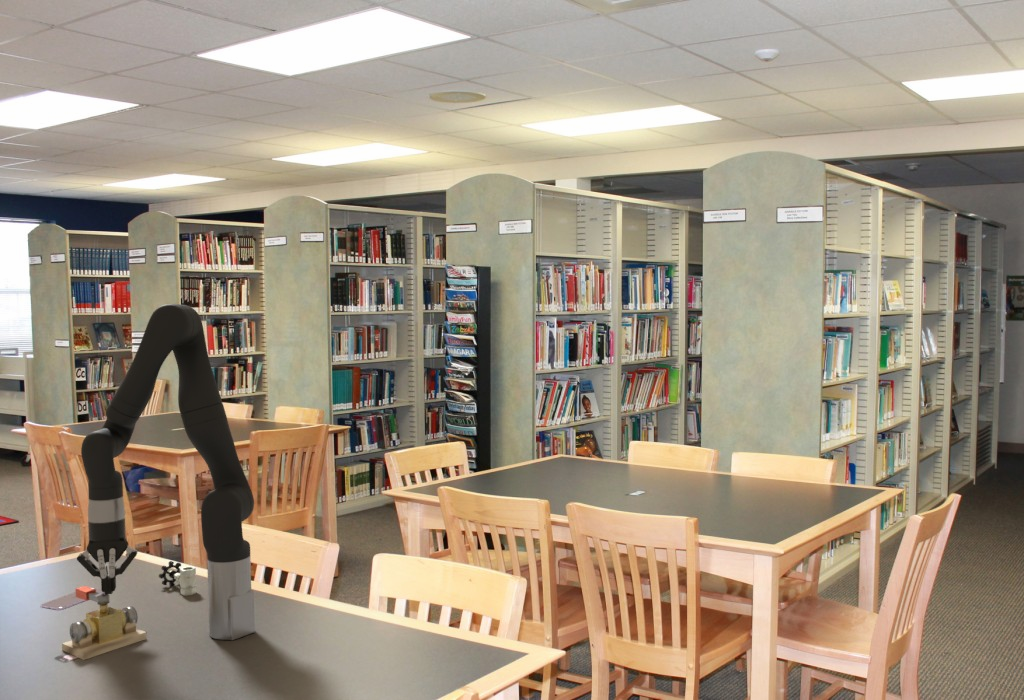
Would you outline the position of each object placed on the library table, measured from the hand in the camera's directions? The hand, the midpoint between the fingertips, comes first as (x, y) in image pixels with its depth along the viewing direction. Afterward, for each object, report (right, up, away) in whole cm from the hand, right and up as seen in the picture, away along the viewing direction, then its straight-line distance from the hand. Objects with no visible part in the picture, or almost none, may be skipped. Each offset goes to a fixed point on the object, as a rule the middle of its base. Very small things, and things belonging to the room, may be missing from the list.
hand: (109, 593), depth 198 cm
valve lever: (-1, 0, -5) cm, 5 cm away
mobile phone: (-20, -9, +24) cm, 32 cm away
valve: (+5, -8, +30) cm, 31 cm away
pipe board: (+2, -9, -7) cm, 12 cm away
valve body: (+2, -8, -7) cm, 11 cm away
